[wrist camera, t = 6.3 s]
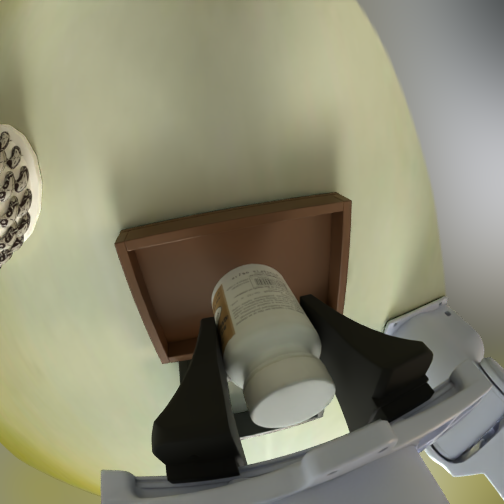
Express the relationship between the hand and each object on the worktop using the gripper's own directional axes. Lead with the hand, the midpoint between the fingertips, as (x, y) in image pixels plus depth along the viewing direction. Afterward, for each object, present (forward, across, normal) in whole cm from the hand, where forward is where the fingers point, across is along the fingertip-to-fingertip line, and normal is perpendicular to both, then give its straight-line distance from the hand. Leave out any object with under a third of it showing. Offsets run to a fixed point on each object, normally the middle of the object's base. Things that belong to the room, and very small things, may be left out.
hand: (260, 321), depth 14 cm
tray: (+4, 0, 0) cm, 4 cm away
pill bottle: (+3, 0, 0) cm, 3 cm away
